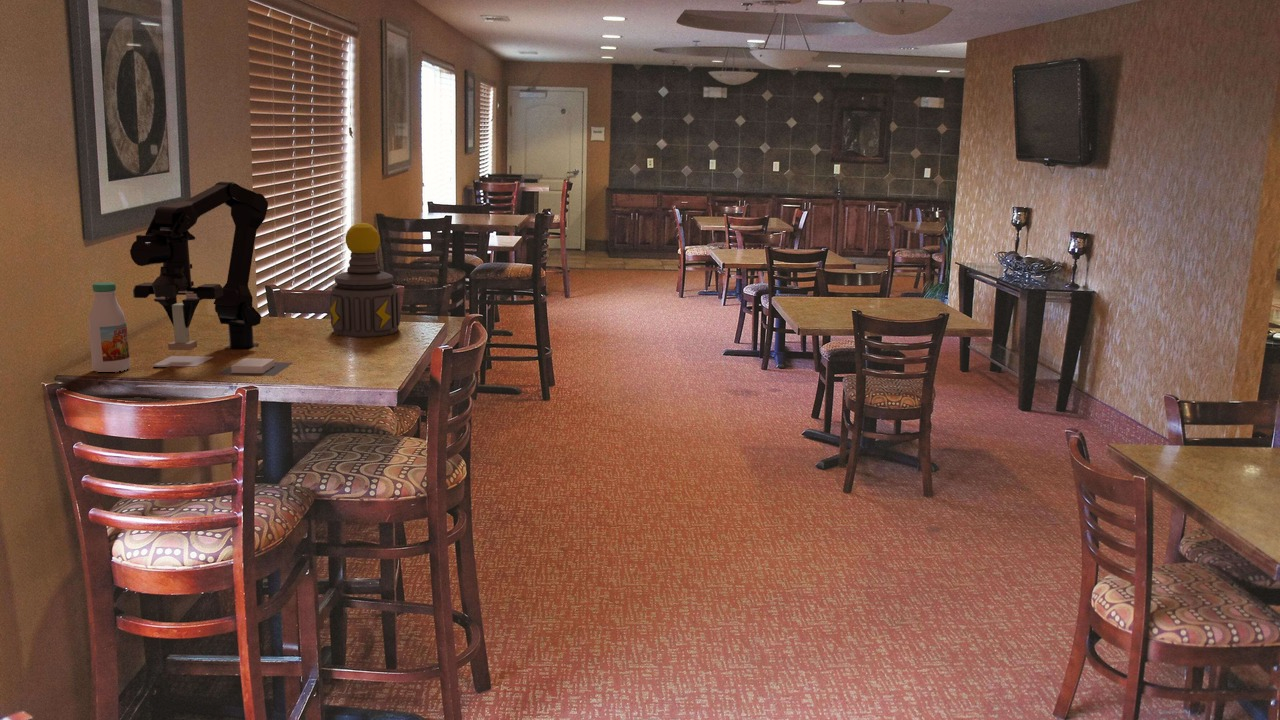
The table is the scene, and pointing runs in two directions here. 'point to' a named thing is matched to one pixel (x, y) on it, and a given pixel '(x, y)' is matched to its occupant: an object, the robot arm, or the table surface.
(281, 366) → the mat
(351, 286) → the decorative lamp
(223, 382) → the table surface
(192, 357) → the pad
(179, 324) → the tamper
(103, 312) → the milk bottle
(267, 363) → the tile
